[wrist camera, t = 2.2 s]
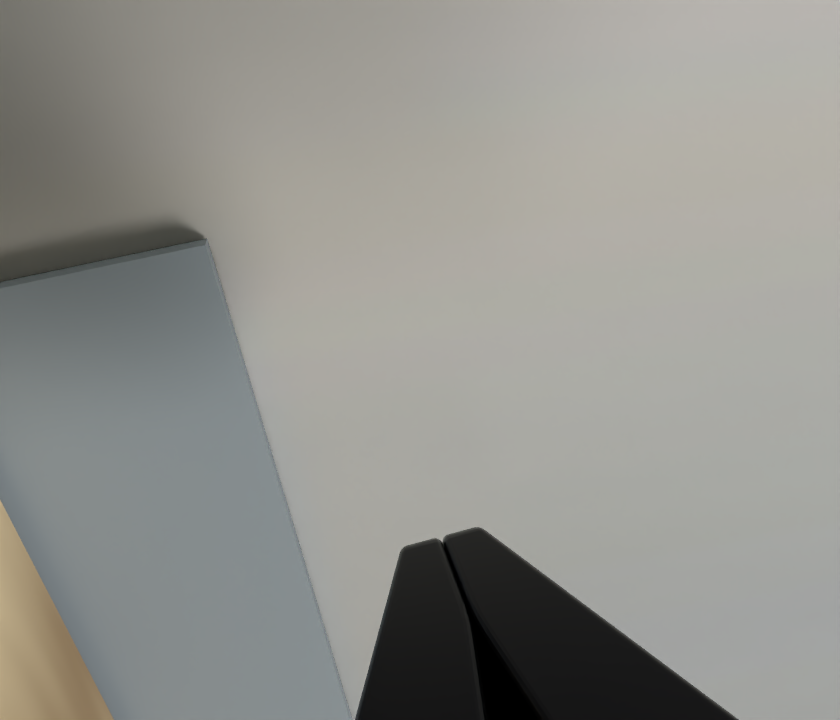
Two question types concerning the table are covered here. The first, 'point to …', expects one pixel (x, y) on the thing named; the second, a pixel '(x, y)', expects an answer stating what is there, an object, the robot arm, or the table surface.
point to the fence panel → (38, 646)
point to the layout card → (157, 493)
